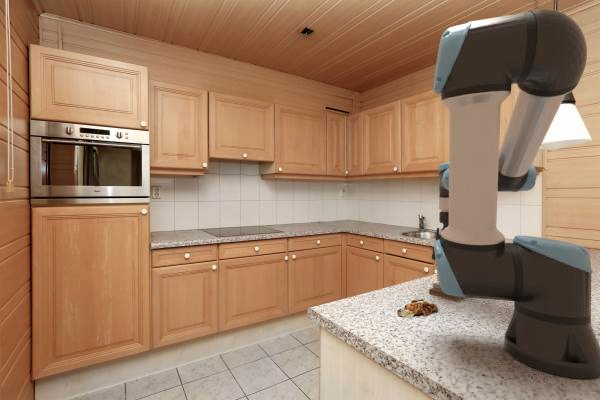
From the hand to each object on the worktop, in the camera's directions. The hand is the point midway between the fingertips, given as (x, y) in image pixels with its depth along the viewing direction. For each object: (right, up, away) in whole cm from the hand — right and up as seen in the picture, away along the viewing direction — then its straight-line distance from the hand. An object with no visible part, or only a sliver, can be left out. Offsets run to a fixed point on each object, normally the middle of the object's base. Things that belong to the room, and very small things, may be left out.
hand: (452, 278), depth 98 cm
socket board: (0, -5, 0) cm, 5 cm away
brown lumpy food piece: (-17, -6, -14) cm, 23 cm away
